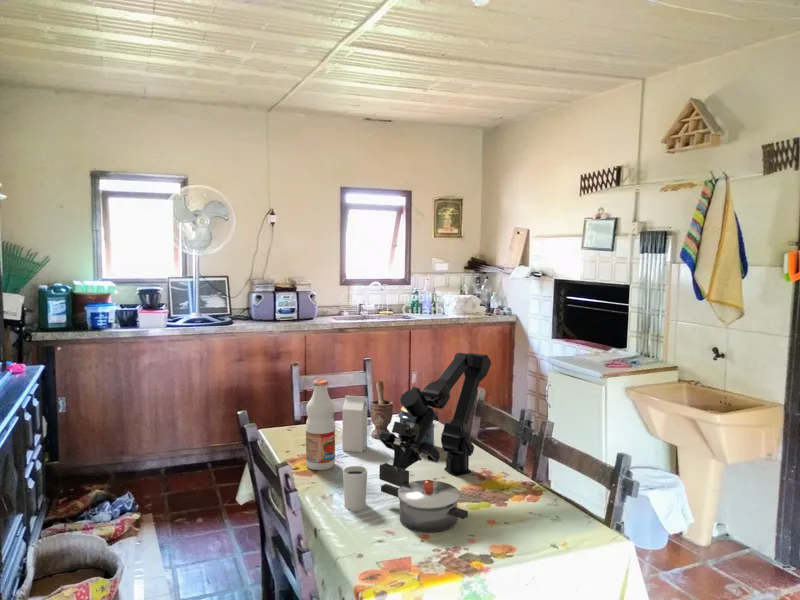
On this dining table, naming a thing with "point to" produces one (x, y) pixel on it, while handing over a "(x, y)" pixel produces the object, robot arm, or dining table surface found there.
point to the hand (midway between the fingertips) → (395, 472)
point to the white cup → (355, 487)
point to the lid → (419, 489)
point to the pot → (426, 515)
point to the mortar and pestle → (380, 412)
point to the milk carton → (354, 424)
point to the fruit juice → (320, 429)
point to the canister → (407, 417)
